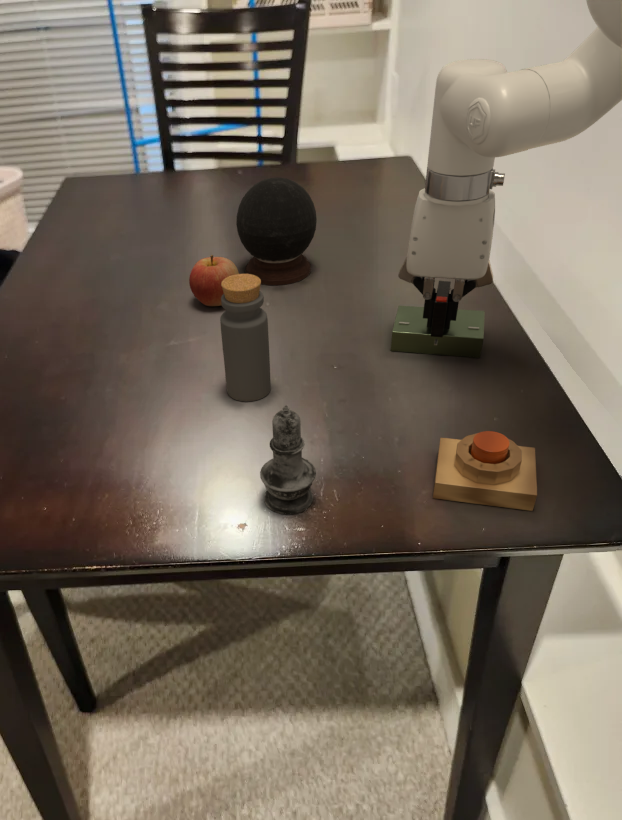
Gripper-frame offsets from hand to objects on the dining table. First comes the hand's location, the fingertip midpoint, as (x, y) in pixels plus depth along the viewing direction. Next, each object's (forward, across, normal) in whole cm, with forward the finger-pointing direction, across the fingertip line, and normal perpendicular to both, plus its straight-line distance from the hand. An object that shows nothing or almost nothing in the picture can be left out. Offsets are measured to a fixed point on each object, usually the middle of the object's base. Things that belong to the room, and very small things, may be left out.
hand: (438, 322), depth 94 cm
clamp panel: (+3, 0, 0) cm, 3 cm away
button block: (+3, -8, +28) cm, 30 cm away
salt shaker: (+4, +12, +36) cm, 38 cm away
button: (0, -7, +28) cm, 29 cm away
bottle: (+4, +23, +16) cm, 28 cm away
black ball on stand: (+4, +28, -21) cm, 35 cm away
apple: (+4, +35, -8) cm, 36 cm away
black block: (0, 0, 0) cm, 0 cm away
